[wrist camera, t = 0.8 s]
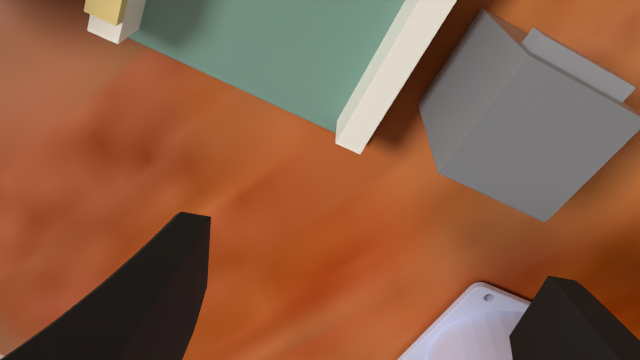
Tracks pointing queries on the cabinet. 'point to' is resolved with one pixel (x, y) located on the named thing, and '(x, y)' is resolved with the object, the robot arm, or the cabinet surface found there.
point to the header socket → (290, 49)
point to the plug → (524, 116)
